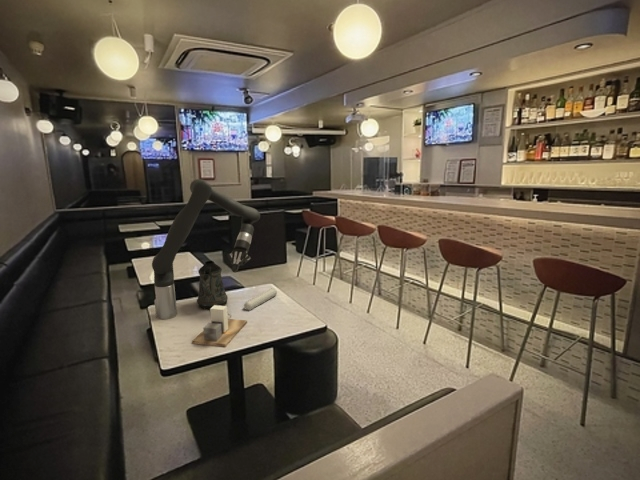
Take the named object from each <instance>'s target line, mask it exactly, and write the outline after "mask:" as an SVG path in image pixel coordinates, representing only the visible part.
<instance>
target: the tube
mask: <svg viewBox="0 0 640 480" xmlns="http://www.w3.org/2000/svg"><path fill="white" fill-rule="evenodd" d="M277 294H278V292H277V289H275V288H273V287H270V288H269V289H267V290H265V291H263V292H262V293H260V294H258V295H256V296H254V297H252V298H250V299H248V300H247V301H246V302H245V303H244V304H243V306H244V309H245V310H246V311H251V310H254V309H255V308H257V307H258V306H260V305H261V304H263V303H266V302H267V301H269V300H271V299H272V298H274V297H276V296H277Z"/></svg>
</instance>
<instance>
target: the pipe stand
mask: <svg viewBox="0 0 640 480" xmlns="http://www.w3.org/2000/svg"><path fill="white" fill-rule="evenodd" d="M247 324H248V320H243V319H236V318H235V319H234V318H232V314H231V313H228V329H227V331H226V332H223V333H222V330H221V324H217V323H211V322H208V323H207V324H206V325H204V326H203V327H202V328H203V330H202V331H201V332H200V333H199V334H198V335H197V336H196V337H194V338H193V339H192V341H191V343H192V344H196V345H197V344H199V345H206V346H215V347H216V346H218V347H224V348H225V347H227V346H228V345H229V344H230V343H231V342H232V341H233V339H234V338H235V337H236V336H237V335H238V334H239V333H240V332H241V330H243V328H244V327H245V326H246V325H247Z"/></svg>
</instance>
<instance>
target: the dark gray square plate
mask: <svg viewBox="0 0 640 480" xmlns="http://www.w3.org/2000/svg"><path fill="white" fill-rule="evenodd" d="M210 323H217V324H221V330H222V333H223V322H216V321H212V322H211V321H210Z"/></svg>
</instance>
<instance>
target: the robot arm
mask: <svg viewBox="0 0 640 480" xmlns="http://www.w3.org/2000/svg"><path fill="white" fill-rule="evenodd" d="M189 190H190V192H191V195H190V197H189V199H188V201H187V203H186V205H185V206H184V207H183V208H182V209H181V210H180V211H179V212H178V213H177V215H176V216H175V218H174V220H173V222H172V223H171V225H170V228H169V230H168V233H166V238H165V240H164V243H163V245H162V247H161V249H160V251H159V252H158V253H157V254H156V255H155V256H154V257H153V259H152V262H151V267H152V270H153V277H154V278H153V283H154V293H155V299H154V302H153V303H154V310H155V317H156V318H158V319H159V320H169V319H172V318H174V317H176V316H177V315H178V312H177V311H178V310H177V300H176V291H175V289H176V288H175V275H174V274H175V273H174V261H175V259H176V256H177V254H178V253H179V252H178V251H179V250H180V249H181V247H182V245H183V244H184V243H185V241H186V239H187V237H188V236H189V235H190V232H191V230H192V229H193V227H194V224H195V222H196V221H197V219H198V216H199V214H200V213H201V210H202V209H203V208H204V206H205V204H206V203H207V202H208V201H210V202H212V203H214V204H216V205H217V206H219V207H220V208H222V209H223V210H225V211H226V212H228V213H230V214H233V216H236V217H241V223H240V225H241V226H240V230H239V233H238V235H237V238H236V241H235V244H234V247H233V250H232V251H231V253H227V254H226V255H227V258H228V260H229V262H230V264H231V265H232V267H231V271H232V273H237V272H238V271H239V268H240V266H242V267H243V266H244V265H245V264H246V263H248V262H249V261H250V260H251V259H252V258H251V256H250V255H249V253H248V252H249V250H250V246H251V243H252V238H253V235H254V231H255V228H254V226H253V224H254V223H256V222H258V221H259V220H260V218H261V213H260V212H259V210H257V208H254V207H251V206H248V205H244V204H242V203H240V202H238V201H237V200H235V199H233V198H231V197H229V196H227V195H225V194H223V193H221V192H220V191H218V190H216V189H215V188H213V187H212V185H211V184H210V183H209V182H207V181H206V180H204V179H202V178H201V179H200V178H198V179H194V180H193V181H192V182H191V183H190V185H189Z"/></svg>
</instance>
